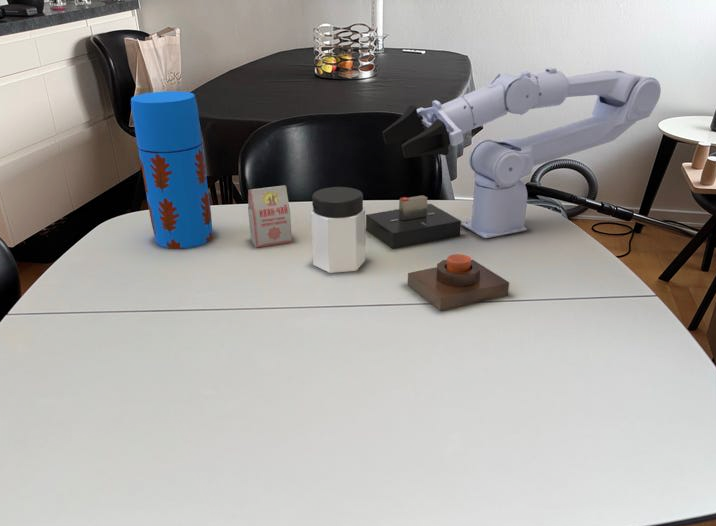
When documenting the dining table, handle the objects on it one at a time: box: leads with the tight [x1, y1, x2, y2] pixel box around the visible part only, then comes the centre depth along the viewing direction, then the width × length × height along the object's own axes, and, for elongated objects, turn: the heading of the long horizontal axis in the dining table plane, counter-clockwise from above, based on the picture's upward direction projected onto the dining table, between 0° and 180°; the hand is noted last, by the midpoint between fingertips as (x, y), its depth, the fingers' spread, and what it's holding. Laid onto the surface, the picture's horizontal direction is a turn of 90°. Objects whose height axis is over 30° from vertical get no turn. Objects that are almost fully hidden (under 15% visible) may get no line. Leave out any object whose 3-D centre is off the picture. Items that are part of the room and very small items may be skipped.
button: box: [446, 253, 472, 272], centre depth 104 cm, size 4×4×2 cm
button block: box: [407, 259, 510, 312], centre depth 105 cm, size 12×10×4 cm
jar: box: [310, 186, 366, 274], centre depth 113 cm, size 9×8×12 cm
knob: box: [398, 195, 428, 221], centre depth 125 cm, size 5×2×4 cm, turn 115°
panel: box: [365, 203, 462, 250], centre depth 127 cm, size 14×11×3 cm
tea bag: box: [247, 185, 293, 248], centre depth 123 cm, size 4×7×10 cm, turn 111°
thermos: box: [130, 90, 214, 250], centre depth 121 cm, size 11×11×25 cm
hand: (393, 144), depth 114 cm, fingers open, 7 cm apart
